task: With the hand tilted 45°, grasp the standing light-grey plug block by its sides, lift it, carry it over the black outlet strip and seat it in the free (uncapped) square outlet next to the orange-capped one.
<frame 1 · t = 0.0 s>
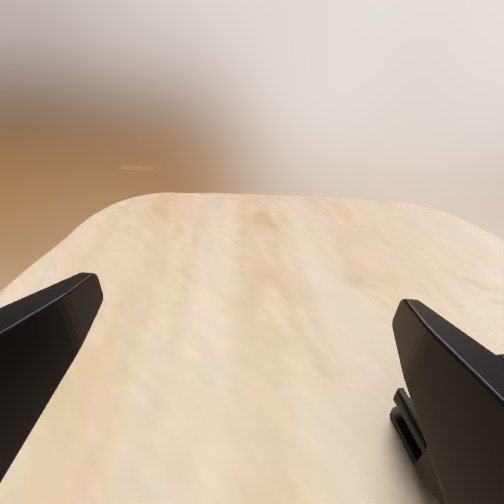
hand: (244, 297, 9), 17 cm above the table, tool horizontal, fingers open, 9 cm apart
end cap: (470, 457, 21), on the table
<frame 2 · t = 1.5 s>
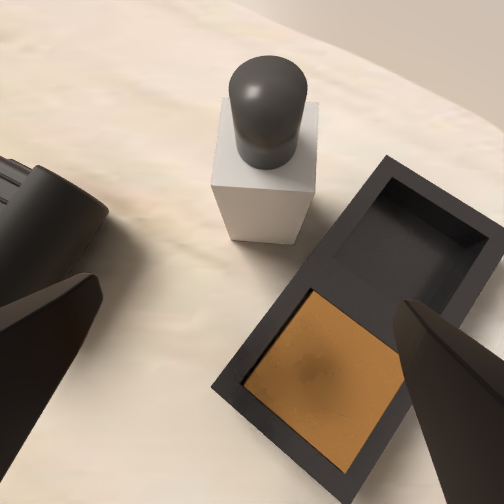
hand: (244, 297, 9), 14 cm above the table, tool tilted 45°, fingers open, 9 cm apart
end cap: (59, 256, 24), on the table
plug: (264, 212, 24), on the table
outlet strip: (355, 309, 22), on the table
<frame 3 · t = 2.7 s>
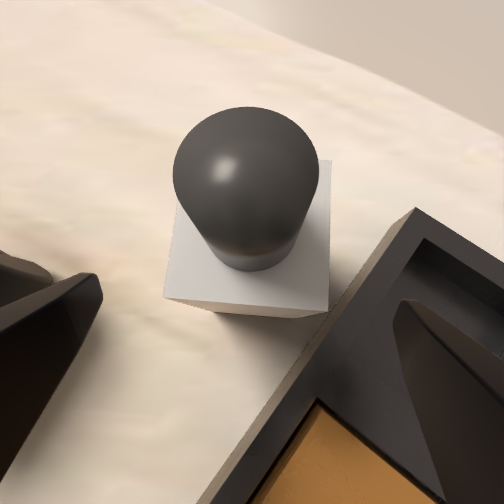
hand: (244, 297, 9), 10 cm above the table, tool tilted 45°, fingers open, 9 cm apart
plug: (256, 275, 19), on the table
outlet strip: (375, 410, 16), on the table
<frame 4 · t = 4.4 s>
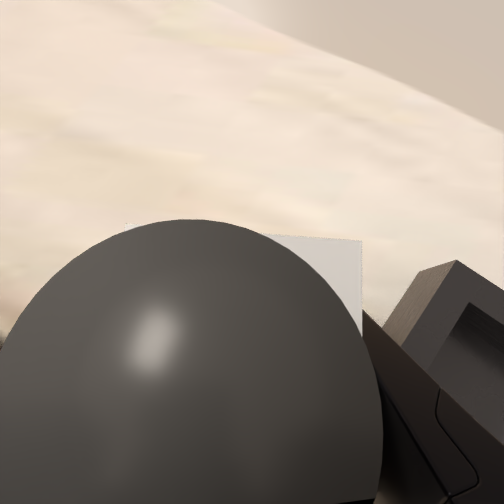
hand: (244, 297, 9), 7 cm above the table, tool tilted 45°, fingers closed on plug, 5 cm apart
plug: (249, 335, 15), on the table, touching gripper
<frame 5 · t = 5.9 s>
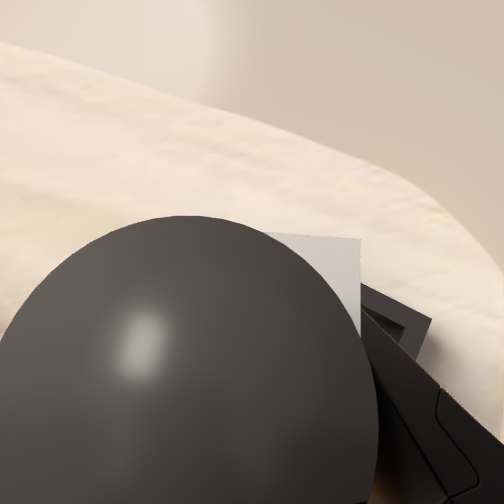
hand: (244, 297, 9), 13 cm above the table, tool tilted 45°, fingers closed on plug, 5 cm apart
plug: (249, 335, 15), point 7 cm above the table, touching gripper
outlet strip: (283, 415, 20), on the table
when the fingers open (8 cm above the table, at t = 7.8 s): plug drops 1 cm, resting on outlet strip.
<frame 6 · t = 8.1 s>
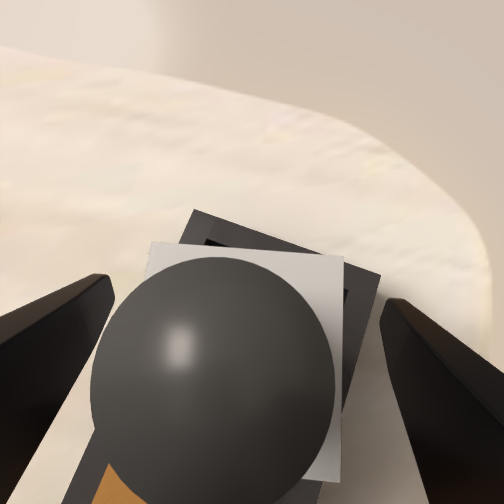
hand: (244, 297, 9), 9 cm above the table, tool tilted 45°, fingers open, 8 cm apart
plug: (250, 334, 16), resting on outlet strip
outlet strip: (217, 424, 16), on the table
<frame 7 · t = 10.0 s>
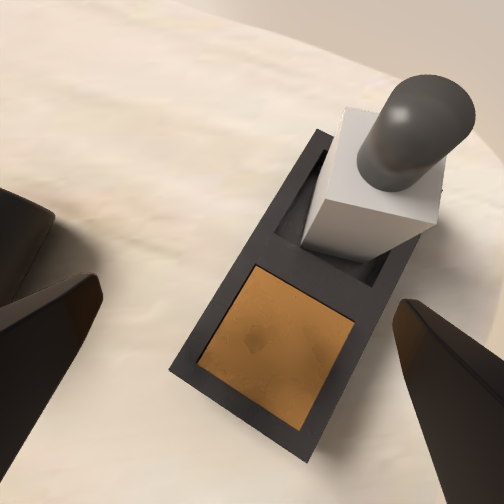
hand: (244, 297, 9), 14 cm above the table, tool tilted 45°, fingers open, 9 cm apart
end cap: (14, 266, 24), on the table
plug: (337, 225, 23), resting on outlet strip
outlet strip: (306, 280, 23), on the table
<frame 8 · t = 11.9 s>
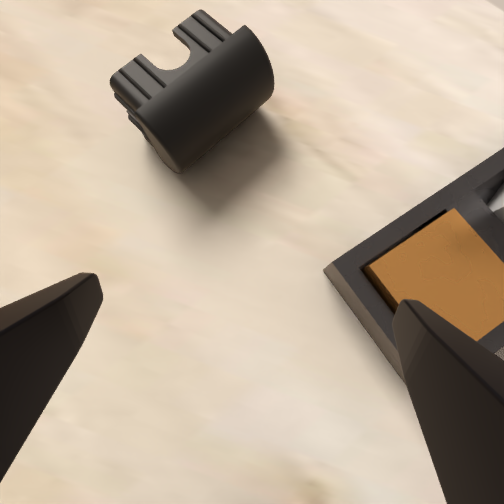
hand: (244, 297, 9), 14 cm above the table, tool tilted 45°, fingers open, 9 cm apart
end cap: (206, 129, 26), on the table
outlet strip: (467, 253, 22), on the table
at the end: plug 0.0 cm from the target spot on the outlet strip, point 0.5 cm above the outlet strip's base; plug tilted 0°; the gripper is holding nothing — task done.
